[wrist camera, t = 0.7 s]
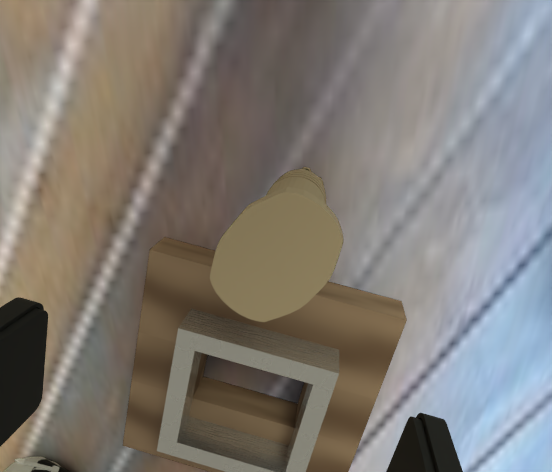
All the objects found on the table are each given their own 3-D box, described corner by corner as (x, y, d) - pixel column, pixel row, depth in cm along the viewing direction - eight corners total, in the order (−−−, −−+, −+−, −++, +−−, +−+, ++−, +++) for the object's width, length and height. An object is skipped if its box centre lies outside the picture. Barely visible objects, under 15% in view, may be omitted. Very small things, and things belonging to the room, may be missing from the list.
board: (164, 237, 36) (149, 249, 33) (401, 301, 35) (406, 320, 32) (137, 422, 43) (122, 445, 40) (334, 480, 42) (333, 508, 39)
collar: (191, 308, 35) (178, 328, 32) (339, 349, 34) (339, 373, 31) (170, 424, 39) (156, 450, 36) (301, 463, 38) (298, 493, 35)
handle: (354, 176, 32) (365, 245, 18) (298, 237, 35) (269, 339, 21) (305, 133, 32) (278, 169, 18) (251, 197, 34) (189, 275, 20)
